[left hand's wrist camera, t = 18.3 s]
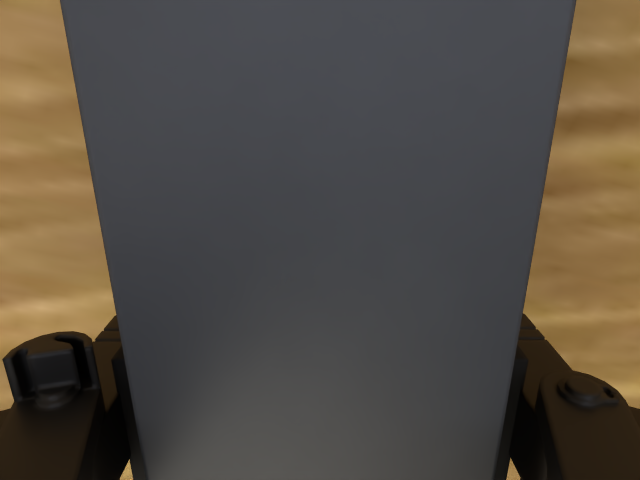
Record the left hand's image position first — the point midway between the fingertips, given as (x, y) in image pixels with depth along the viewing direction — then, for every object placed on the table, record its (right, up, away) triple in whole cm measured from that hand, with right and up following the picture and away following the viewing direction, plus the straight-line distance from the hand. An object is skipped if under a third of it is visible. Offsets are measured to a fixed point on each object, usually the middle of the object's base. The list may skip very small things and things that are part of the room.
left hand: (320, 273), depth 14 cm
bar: (0, +25, -8) cm, 26 cm away
